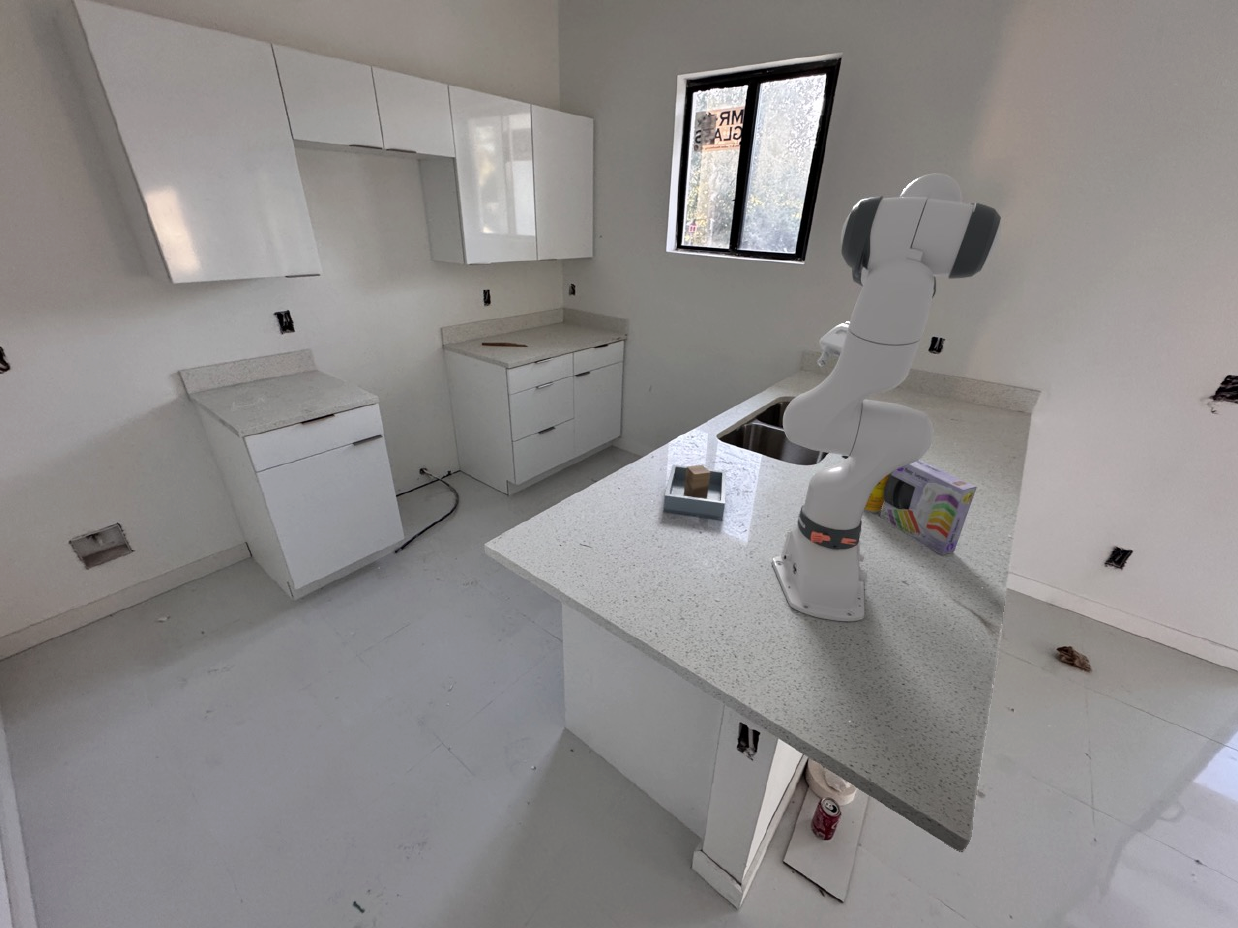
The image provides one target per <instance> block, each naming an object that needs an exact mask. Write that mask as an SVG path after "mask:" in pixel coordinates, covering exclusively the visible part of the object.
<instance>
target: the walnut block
mask: <svg viewBox="0 0 1238 928" xmlns="http://www.w3.org/2000/svg"><path fill="white" fill-rule="evenodd" d="M708 469H709V468H707V467H705V466H704V465H703V464H695V465H687V469H686V478H685V487H684V493H685V495H686V496H689V497H696V498H704V499H707V495H708V487H709V480H710V473H711V472H710V471H709V470H708Z"/></svg>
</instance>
